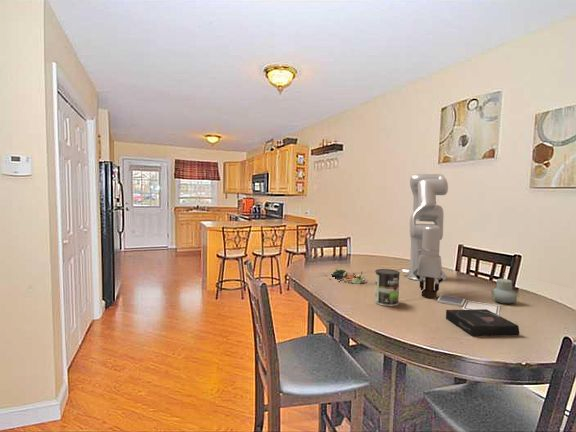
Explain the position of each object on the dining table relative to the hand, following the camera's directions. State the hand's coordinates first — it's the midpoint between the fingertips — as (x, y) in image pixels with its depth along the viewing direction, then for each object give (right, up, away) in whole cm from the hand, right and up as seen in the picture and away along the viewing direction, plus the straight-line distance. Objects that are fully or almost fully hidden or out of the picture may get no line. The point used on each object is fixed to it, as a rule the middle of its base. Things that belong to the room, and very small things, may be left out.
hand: (429, 290), depth 160 cm
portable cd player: (+4, -6, -36) cm, 37 cm away
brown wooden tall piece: (0, -3, 0) cm, 3 cm away
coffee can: (-23, -4, -10) cm, 25 cm away
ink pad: (+7, -4, -7) cm, 11 cm away
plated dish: (-32, -2, +32) cm, 46 cm away
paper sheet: (+16, -4, -15) cm, 23 cm away
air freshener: (+31, -4, -6) cm, 32 cm away
